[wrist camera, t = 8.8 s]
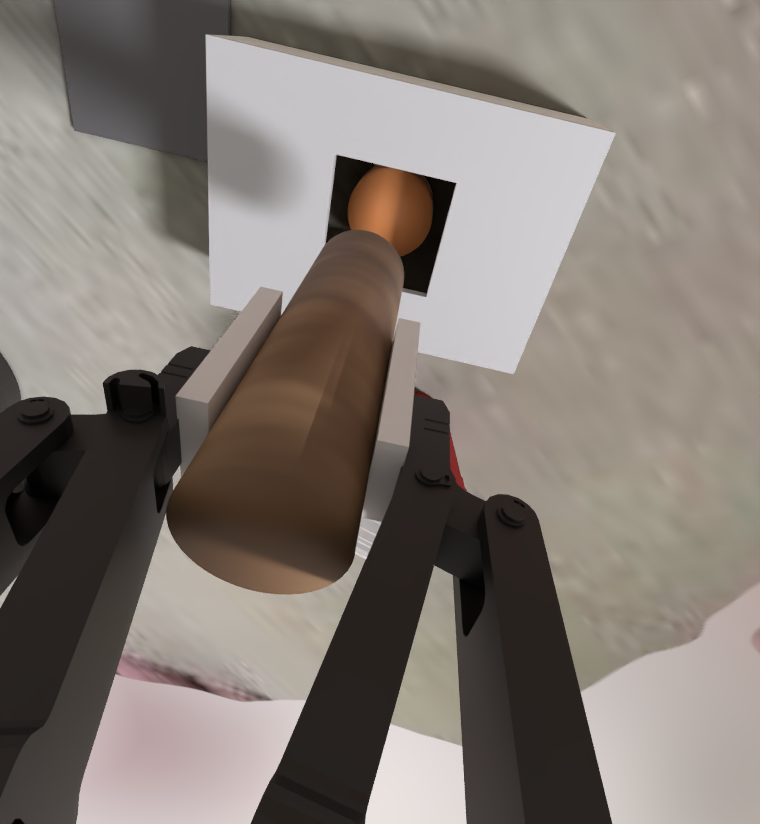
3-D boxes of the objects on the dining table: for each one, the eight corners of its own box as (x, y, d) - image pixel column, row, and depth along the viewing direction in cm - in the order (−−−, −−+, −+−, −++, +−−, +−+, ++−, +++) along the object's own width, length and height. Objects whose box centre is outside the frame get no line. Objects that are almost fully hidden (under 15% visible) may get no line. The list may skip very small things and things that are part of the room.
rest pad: (77, 129, 32) (74, 130, 32) (45, -83, 26) (39, -84, 26) (229, 165, 32) (227, 166, 32) (231, -38, 26) (228, -38, 26)
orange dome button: (348, 235, 34) (342, 247, 32) (361, 152, 31) (354, 159, 29) (422, 252, 34) (421, 265, 32) (442, 171, 31) (442, 180, 29)
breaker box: (241, 270, 37) (210, 304, 32) (247, 36, 28) (205, 34, 23) (505, 331, 37) (513, 374, 32) (588, 118, 29) (615, 132, 24)
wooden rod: (311, 305, 24) (172, 573, 12) (321, 220, 21) (159, 446, 9) (394, 324, 24) (340, 608, 12) (413, 241, 21) (371, 492, 9)
